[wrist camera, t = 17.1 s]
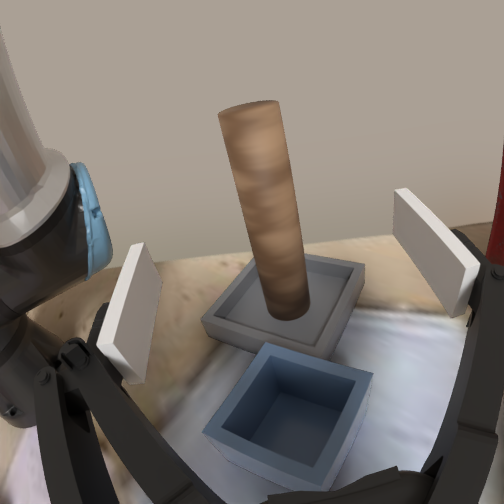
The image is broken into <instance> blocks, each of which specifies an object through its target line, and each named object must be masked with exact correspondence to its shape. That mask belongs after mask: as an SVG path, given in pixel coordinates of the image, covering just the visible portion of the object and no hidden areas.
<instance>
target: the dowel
mask: <svg viewBox="0 0 504 504" xmlns="http://www.w3.org/2000/svg"><path fill="white" fill-rule="evenodd" d="M218 118H219V122H220V126H221V130H222V134H223V137H224V142H225V145H226V149H227V153H228V157H229V161H230V165H231V169H232V173H233V177H234V181H235V185H236V188H237V192H238V196H239V200H240V204H241V208H242V212H243V216H244V220H245V223H246V228H247V232H248V235H249V239H250V243H251V247H252V251H253V255H254V259H255V263H256V267H257V271H258V275H259V279H260V283H261V286H262V290H263V294H264V298H265V302H266V306H267V310H268V313H269V314H270V315H271V316H272V317H273V318H275V319H277V320H281V321H291V320H295V319H298V318H300V317H302V316H303V315H304V314H306V313H307V311H308V310H309V308H310V304H311V303H310V294H309V286H308V278H307V271H306V263H305V256H304V249H303V242H302V235H301V228H300V222H299V215H298V209H297V202H296V196H295V190H294V184H293V178H292V172H291V166H290V160H289V155H288V149H287V144H286V138H285V134H284V127H283V122H282V117H281V112H280V107H279V102H278V101H273V100H269V101H257V102H251V103H246V104H242V105H238V106H234V107H231V108H228V109H225V110H223V111H221V112H219V114H218Z"/></svg>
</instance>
